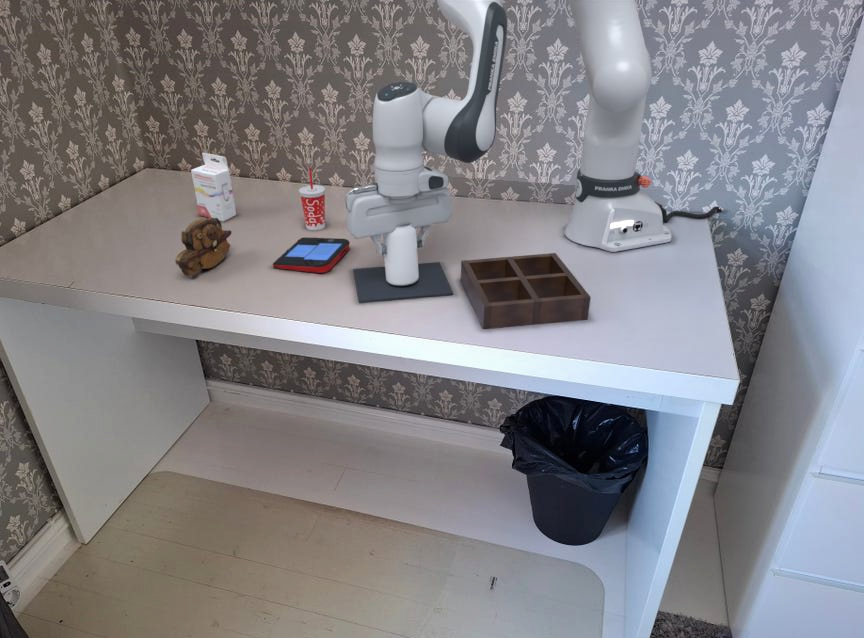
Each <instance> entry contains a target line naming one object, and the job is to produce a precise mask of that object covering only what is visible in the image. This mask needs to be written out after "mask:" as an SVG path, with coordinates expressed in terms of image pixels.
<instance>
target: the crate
mask: <svg viewBox="0 0 864 638" xmlns="http://www.w3.org/2000/svg"><path fill="white" fill-rule="evenodd" d="M460 283H461V285H462V287H463V289H464V292H465V294H466V296H467V298H468V300H469V302H470V304H471V307H472V309H473V311H474V313H475V315H476V317H477V318H478V321H479V323H480V325H481V327H482V330H488V329H497V328H508V327H509V328H510V327H519V326H521V327H522V326H532V325H542V324H555V323H565V322H577V321H587V320H588V319H589V312H590V304H591V299H592V297H591V295H590V294H589V293H588V292H587V291H586V289H585V288H584V287H583V285H582V284H581V283H580V282H579V280H578V279H577V277H576V276H575V275H574V274H573V273H572V271H570V268H568V267H567V265H566V264H565V263H564V261H563V260H562V259H561V258H560V256H559V255H558V254H557V253H556V252H550V253H540V254H539V253H538V254H527V255H525V254H524V255H514V256H503V257H502V256H501V257H500V256H499V257H491V258H488V257H487V258H478V259H477V258H476V259H468V260H467V259H465V260H461V261H460Z"/></svg>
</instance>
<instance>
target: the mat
mask: <svg viewBox="0 0 864 638" xmlns="http://www.w3.org/2000/svg"><path fill="white" fill-rule="evenodd" d="M442 266H443V265H442V264H441V262H440V261H436V262H434V261H433V262H424V263H423V262H422V263H418V273H419V278H418V280H417V281H416V282H415V283H414V284H411V285H408V286H394V285H391V284H389V283H388V282H387V280H386V272H385V266H374V267H362V268H361V267H360V268H353V270H352V271H353V276H354V282H355V287H356V288H355V289H356V293H357V298H358V303H359V304H362V303H364V304H366V303H375V302H386V301H387V302H388V301H398V300H411V299H422V298H434V297H445V296H453V295H454V292H453V290H452V289H453V288H452V287H451V285H450V282H449V280H448V278H447V276H446V273H445V271H444V269H443V267H442Z"/></svg>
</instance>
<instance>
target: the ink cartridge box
mask: <svg viewBox="0 0 864 638" xmlns="http://www.w3.org/2000/svg"><path fill="white" fill-rule="evenodd" d="M201 154H202V155H201V156H202V160H203V163H204V164H203V165H200V166H197V167H195V168H192V169H190V172H191V177H192V183H193V189H194V193H195V199H196V205H197V209H198V210H197V211H198V215H199V216H201V217H205V218H207V219H208V218H209V217H212V218H218V219H219V221H220V222H225V221H227V220H230V219H231V218H234V217H235V216H237V210H236V203H235V200H234V193H233V187H232V186H233V185H232V180H231V179H232V178H231V173H230V169H229V166H228V160H227V158H226V156H224V155H223V156H222V155H218V154H212V153H206V152H202V153H201ZM214 159H215V160H216V161H214Z"/></svg>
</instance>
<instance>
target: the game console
mask: <svg viewBox="0 0 864 638" xmlns="http://www.w3.org/2000/svg"><path fill="white" fill-rule="evenodd" d="M350 245H351V244H350V241H349V240H348V239H346V238H332V237H330V238H329V237H308V236H307V237H301V238H299V239H298V240H297V241H296V242H295V243H294V244H292V245H291V246H290V247H289V248H287V249H286V251H284V253H283V254H282V255H280V256H279V257H278V258H277V259H276V260H275V261H274V262H272V267H273V268H275V269H279V270H287V271H289V270H291V271H296V272H304V273H313V274H325V273H328V272H330V271H331V269H332V268H334V267H335V266H336V265H337V263H338V262H339V261H340V260H341V258H343V257H344V256H345V254H346V253H347V252H348V251H350Z"/></svg>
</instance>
